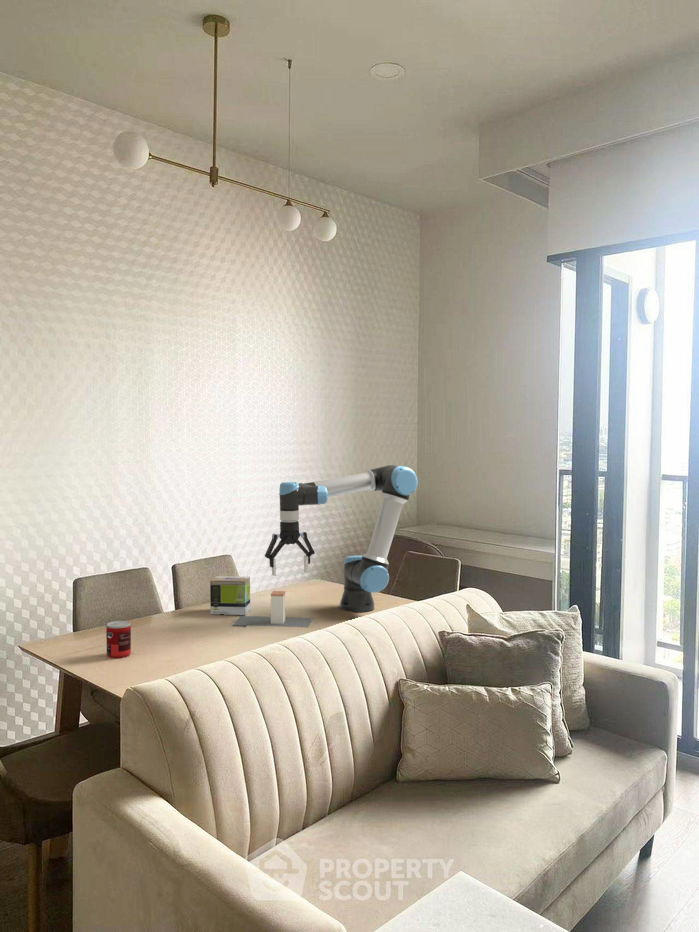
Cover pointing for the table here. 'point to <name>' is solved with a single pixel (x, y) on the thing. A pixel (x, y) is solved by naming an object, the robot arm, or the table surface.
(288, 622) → the rubber mat
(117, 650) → the canned food
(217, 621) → the table surface
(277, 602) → the cream block
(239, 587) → the tea box
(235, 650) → the table surface
